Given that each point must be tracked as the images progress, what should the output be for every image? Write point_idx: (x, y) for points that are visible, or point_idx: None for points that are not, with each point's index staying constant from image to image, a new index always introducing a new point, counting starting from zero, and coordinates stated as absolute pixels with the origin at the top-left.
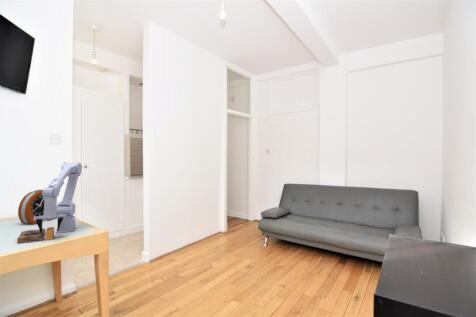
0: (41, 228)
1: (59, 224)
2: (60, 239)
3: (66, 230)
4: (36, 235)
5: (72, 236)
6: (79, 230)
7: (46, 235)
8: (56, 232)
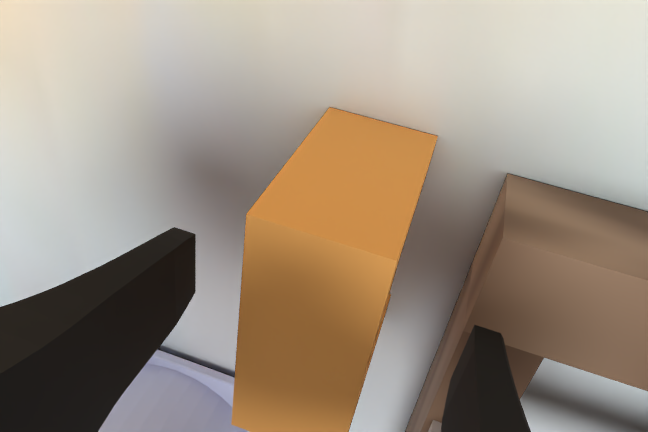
0: (474, 415)
1: (37, 307)
2: (198, 14)
3: (146, 369)
4: (587, 299)
5: (39, 72)
6: None
7: (404, 183)
8: None
